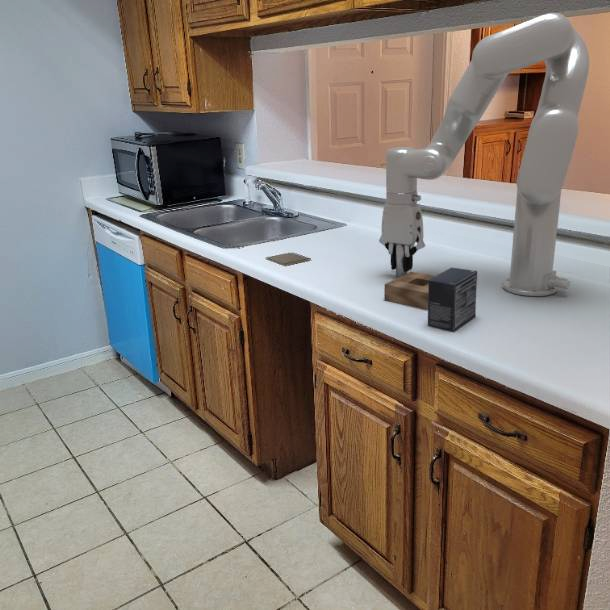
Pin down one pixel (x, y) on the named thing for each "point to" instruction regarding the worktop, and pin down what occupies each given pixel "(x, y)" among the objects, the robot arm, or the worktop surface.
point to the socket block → (409, 290)
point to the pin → (400, 260)
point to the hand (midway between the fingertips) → (401, 268)
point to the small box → (452, 299)
